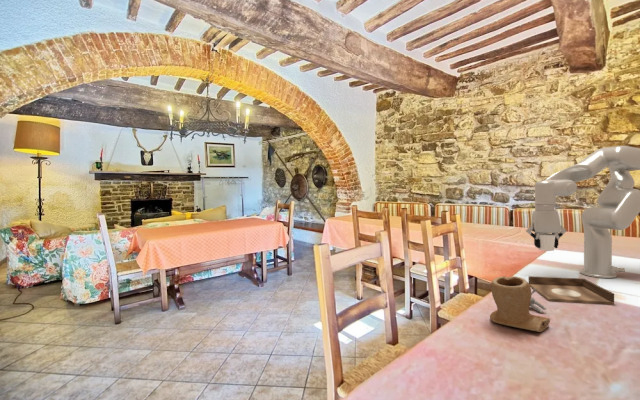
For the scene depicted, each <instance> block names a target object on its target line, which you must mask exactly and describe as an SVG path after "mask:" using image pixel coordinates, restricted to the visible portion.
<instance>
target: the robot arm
mask: <svg viewBox="0 0 640 400" xmlns="http://www.w3.org/2000/svg"><path fill="white" fill-rule="evenodd" d="M607 168H608V171H609V173H610V174H609V175H610V179H609V181H608V183H606V185H605V187H604V188H603V190H601V192H600V194H599V196H598V197H597V201H596V202H597V204H598V206H591V207H587V208H586V209H584V210H583V211H582V213H581V215H580V216H581V223H582V228H583V268H582V269H581V268H580V269H579V273H580V274H581V275H584V276H586V277H587V276H588V277H592V278H597V279H615V278H617V272H618V273H626V269H625V267H618V266H613V265H612V261H613V259H612V257H613V248H612V246H613V237H612V234H611V232H610V231H609V230H613V231H622V230H625V229H628V228H630V226H631V225H632V223H633V222H634V220H636V217H637V216H638V215H639V214H640V190H639V189H638V188H634V186H635V184H636V183H635V179H634V178H633V176H632V175H631V173H630V171H631V172H633V171H640V147H639V148H638V147H634V146H629V145H616V146H607V147H601V148H599V149H596V150H595V151H593V152H592V153H590V154H588V155H587V156H586V157H584V158H583V159H582V160H580V161H578V163H576V164H573V165H571V166H568V167H566V168H563V169H562V170H559V171H556V172H555V173H553V174H551V175H550V176H548V177H547V178H546V179H544V180H539V181H536V182H534V203H535V204H534V206H535V207H534V208H535V210H533V211H532V215H531V221H530V222H531V224H530V226H529V227H528V228H527V229H526V230H525V232H526V233H527V234H528V235H529V236H531V237H532V238H533V239H534V240H533V244H534V246H535V247H534V248H537V249H539V248H540V239H539V235H540V234H541V233H548V234H554V235H555V244H554V249H558V248H559V247H558V246H559V240H560V238H561V237H563V235H564V234H566V233H567V231H568V230H567V229H566V228H564V227H563V226H562V225H561V219H560V216H559V215H560V214H559V212H558V210H557V209H560V205H557V202H556V201H557V199H556V198H557V197H569V196H572V195H574V194H575V193H576V192H577V191H578V185H577V183H578V182H583V181H585V180H586V181H587V180H589V179H592V178H594V177H595V176H596V175H598V174H600V173H601V172H602V171H603V170H604V169H605V170H606V169H607Z"/></svg>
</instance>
